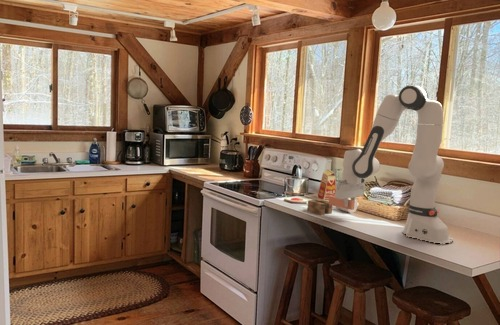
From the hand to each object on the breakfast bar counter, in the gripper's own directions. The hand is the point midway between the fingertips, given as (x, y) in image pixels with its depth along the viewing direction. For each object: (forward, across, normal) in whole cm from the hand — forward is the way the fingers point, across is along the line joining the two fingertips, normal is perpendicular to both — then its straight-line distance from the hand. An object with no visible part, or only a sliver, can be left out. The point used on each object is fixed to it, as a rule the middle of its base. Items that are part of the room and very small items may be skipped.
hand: (348, 206), depth 231 cm
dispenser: (+7, 0, +19) cm, 21 cm away
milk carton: (+7, +31, +40) cm, 51 cm away
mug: (+8, +19, +14) cm, 25 cm away
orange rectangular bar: (+1, 0, +5) cm, 5 cm away
